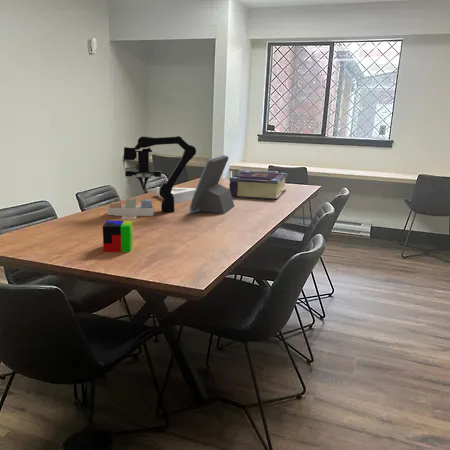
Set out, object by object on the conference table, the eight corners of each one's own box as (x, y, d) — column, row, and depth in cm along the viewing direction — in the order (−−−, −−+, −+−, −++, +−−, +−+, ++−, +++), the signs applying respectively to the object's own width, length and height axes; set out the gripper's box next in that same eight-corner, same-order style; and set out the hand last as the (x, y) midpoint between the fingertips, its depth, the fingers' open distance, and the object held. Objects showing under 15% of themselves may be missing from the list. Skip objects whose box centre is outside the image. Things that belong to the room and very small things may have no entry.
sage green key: (136, 208, 248) (136, 199, 247) (135, 210, 243) (135, 201, 242) (127, 208, 248) (126, 199, 247) (125, 210, 243) (125, 201, 242)
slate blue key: (151, 208, 249) (151, 199, 248) (151, 210, 244) (150, 201, 243) (142, 208, 249) (142, 199, 247) (141, 210, 244) (141, 201, 243)
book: (226, 197, 307) (227, 176, 304) (242, 188, 349) (242, 169, 346) (277, 201, 299) (278, 179, 295) (286, 190, 341) (287, 171, 338)
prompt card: (136, 216, 241) (136, 215, 241) (135, 219, 235) (135, 217, 235) (123, 216, 241) (123, 215, 240) (121, 218, 235) (121, 217, 235)
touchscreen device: (205, 202, 285) (207, 153, 278) (236, 205, 280) (239, 155, 273) (186, 213, 252) (188, 157, 245) (221, 217, 247) (224, 160, 240)
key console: (154, 213, 251) (154, 205, 250) (153, 215, 244) (153, 208, 243) (110, 212, 249) (110, 205, 248) (107, 215, 242) (107, 207, 241)
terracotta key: (121, 211, 248) (121, 202, 247) (120, 213, 243) (119, 204, 242) (111, 211, 248) (111, 202, 247) (110, 213, 243) (110, 204, 242)
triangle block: (173, 204, 279) (173, 194, 278) (140, 199, 292) (140, 189, 291) (202, 198, 304) (202, 188, 303) (170, 193, 317) (170, 184, 316)
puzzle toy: (107, 244, 188) (106, 220, 186) (132, 244, 189) (132, 220, 186) (103, 251, 178) (102, 226, 176) (130, 251, 179) (129, 226, 177)
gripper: (162, 159, 257) (162, 187, 260) (127, 158, 255) (128, 187, 259) (160, 161, 246) (161, 190, 249) (124, 160, 245) (125, 190, 248)
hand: (144, 189), depth 252 cm, fingers closed
